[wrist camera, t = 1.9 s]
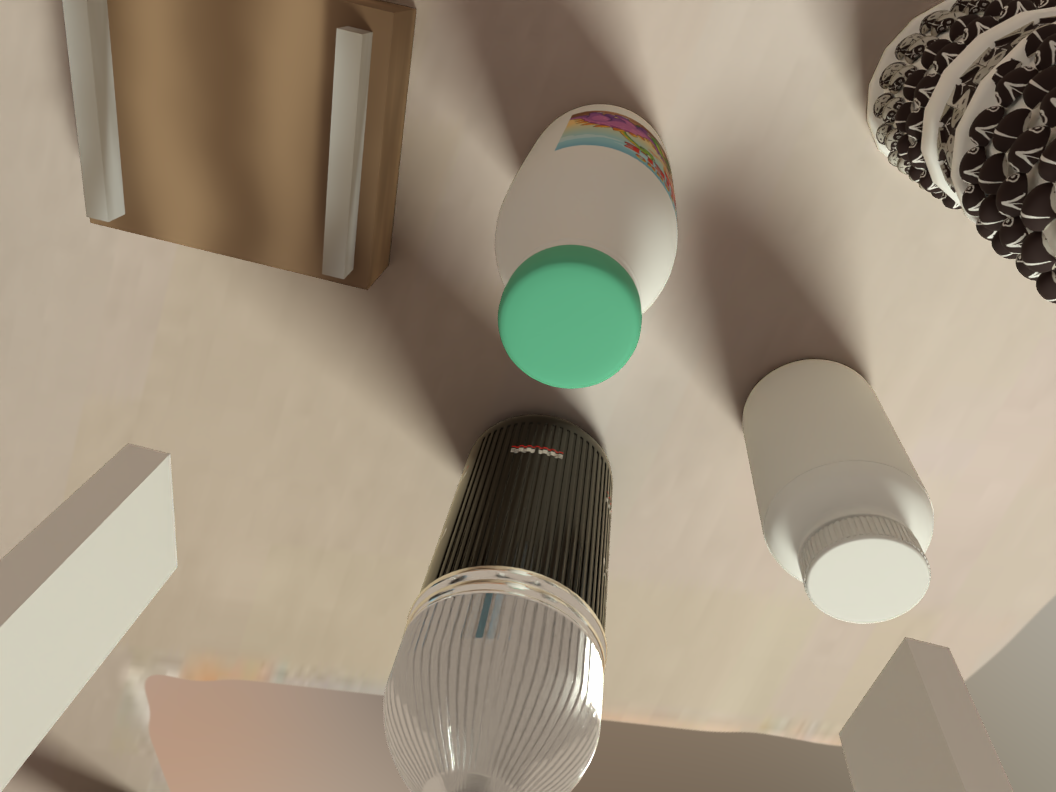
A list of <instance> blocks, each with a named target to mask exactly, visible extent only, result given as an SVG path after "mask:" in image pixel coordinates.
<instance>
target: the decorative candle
mask: <svg viewBox="0 0 1056 792" xmlns="http://www.w3.org/2000/svg"><path fill="white" fill-rule="evenodd" d="M867 123H868V125H869V128H870V130H871V133H872V135H873V138H874V141H875V143H876V146H877V148H878V150H879V151H880V152H881V153H882V154H884V155H885V156H886V157H887V158H888V161H889V162H890V164H892V165H893V166H897V168H898V170H899V171H900V172H901V173H904V174H909V179H910V180H912V181H915V182H917V183H918V184H919V187H920V188H922V189H925V190H926V191H928V192H931V194H932V195H933V196H934V197H935V198H938V199H942V201H943V204H944V205H945V206H946V207H948V208H951V209H961V208H962V210H963V212H964V215H966V216H967V217H968V218H969V219H970V220H971V221H972V222H973V223H975V224H976V227H977V231H978V232H979V234H980V235H981V236H982V237H984V238H985V239H987V240H990V241H992V247H993V249H994V250H995V252H996V253H997V254H999V255H1000V256H1002V257H1004V258H1008V259H1016V267H1017V269H1018V271H1019V272H1020V273H1021V274H1022V275H1023V276H1024V277H1026V278H1028V279H1030V280H1035V281H1036V287H1037V290H1038V292H1039V294H1040V295H1041V296H1042V297H1043V298H1044V299H1046V300H1047V301H1050V302H1052V303H1056V0H945V1H943V2H942V3H940V4H938V5H936V6H935V7H933V8H931V9H929V10H927V11H926V12H924V13H922V14H920V15H919V16H917V17H915V18H913V19H912V20H911V21H910V22H909V23H908V25H907V26H906V27H905V28H904V29H903V30H902V31H901V32H900V33H899V34H898V36H897V37H896V38H895V39H894V40H893V41H892V42H891V43H890V44H889V45H888V46H887V48H886V49H885V50H884V52H883V54H882V56H881V59H880V61H879V63H878V65H877V68H876V70H875V72H874V74H873V77H872V79H871V81H870V83H869V87H868V104H867Z"/></svg>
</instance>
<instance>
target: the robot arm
mask: <svg viewBox="0 0 1056 792" xmlns="http://www.w3.org/2000/svg"><path fill="white" fill-rule="evenodd" d="M177 567H178V566H177V550H176V535H175V519H174V503H173V488H172V472H171V456H170V454H169V453H165V452H161V451H157V450H153V449H149V448H145V447H141V446H137V445H133V444H129V443H128V444H127V445H126V446H125V447H124V448H122V449H121V450H120V451H119V452H118V453H117V454H116V455H115V456H114V457H113V458H111V459H110V460H109V461H108V462H107V463H106V464H105V465H104V466H103V467H102V468H101V469H99V470H98V471H97V472H96V473H95V474H94V475H93V476H92V477H91V478H90V479H89V480H87V481H86V482H85V483H84V484H83V485H82V486H81V487H80V488H79V489H78V490H76V491H75V492H74V493H73V494H72V495H71V496H70V497H69V498H68V499H67V500H66V501H64V502H63V503H62V504H61V505H60V506H59V507H58V508H57V509H56V510H55V511H54V512H52V513H51V514H50V515H49V516H48V517H47V518H46V519H45V520H44V521H43V522H41V523H40V524H39V525H38V526H37V527H36V528H35V529H34V530H33V531H32V532H31V533H29V534H28V535H27V536H26V537H25V538H24V539H23V540H22V541H21V542H20V543H19V544H17V545H16V546H15V547H14V548H13V549H12V550H11V551H10V552H9V553H8V554H6V555H5V556H4V557H3V558H2V559H1V560H0V792H2V790H3V789H4V788H5V786H6V785H7V784H8V783H9V781H10V780H11V779H12V778H13V776H14V775H15V774H16V772H17V771H18V770H19V769H20V767H21V766H22V765H23V763H24V762H25V761H26V760H27V758H28V757H29V756H30V755H31V753H32V752H33V751H34V749H35V748H36V747H37V746H38V744H39V743H40V742H41V741H42V739H43V738H44V737H45V735H46V734H47V733H48V732H49V730H50V729H51V728H52V726H53V725H54V724H55V723H56V721H57V720H58V719H59V718H60V716H61V715H62V714H63V712H64V711H65V710H66V709H67V707H68V706H69V705H70V703H71V702H72V701H73V700H74V698H75V697H76V696H77V695H78V693H79V692H80V691H81V689H82V688H83V687H84V686H85V684H86V683H87V682H88V681H89V679H90V678H91V677H92V675H93V674H94V673H95V672H96V670H97V669H98V668H99V666H100V665H101V664H102V663H103V661H104V660H105V659H106V658H107V656H108V655H109V654H110V652H111V651H112V650H113V649H114V647H115V646H116V645H117V644H118V642H119V641H120V640H121V638H122V637H123V636H124V635H125V633H126V632H127V631H128V629H129V628H130V627H131V626H132V624H133V623H134V622H135V621H136V619H137V618H138V617H139V615H140V614H141V613H142V612H143V610H144V609H145V608H146V607H147V605H148V604H149V603H150V601H151V600H152V599H153V598H154V596H155V595H156V594H157V592H158V591H159V590H160V589H161V587H162V586H163V585H164V584H165V582H166V581H167V580H168V578H169V577H170V576H171V575H172V573H173V572H174V571H175V569H176V568H177ZM839 735H840V739H841V743H842V747H843V751H844V755H845V759H846V763H847V767H848V771H849V775H850V778H851V782H852V786H853V790H854V792H1014V791H1013V789H1012V787H1011V785H1010V782H1009V780H1008V778H1007V776H1006V774H1005V771H1004V769H1003V767H1002V765H1001V762H1000V760H999V758H998V756H997V754H996V751H995V749H994V747H993V745H992V742H991V741H990V738H989V736H988V734H987V731H986V729H985V727H984V725H983V722H982V720H981V718H980V716H979V714H978V712H977V709H976V707H975V705H974V703H973V700H972V698H971V696H970V694H969V691H968V689H967V687H966V685H965V683H964V680H963V678H962V676H961V674H960V671H959V669H958V667H957V665H956V663H955V660H954V658H953V656H952V654H951V651H950V649H949V648H947V647H943V646H939V645H935V644H931V643H927V642H923V641H919V640H915V639H911V638H907V637H905V638H904V640H903V641H902V643H901V644H900V645H899V647H898V648H897V650H896V651H895V653H894V654H893V656H892V657H891V659H890V660H889V661H888V663H887V664H886V666H885V667H884V669H883V670H882V672H881V673H880V675H879V676H878V677H877V679H876V680H875V682H874V683H873V685H872V686H871V688H870V689H869V691H868V692H867V693H866V695H865V696H864V698H863V699H862V701H861V702H860V704H859V705H858V706H857V708H856V709H855V711H854V712H853V714H852V715H851V717H850V718H849V720H848V721H847V722H846V724H845V725H844V727H843V728H842V730H841V731H840V733H839Z"/></svg>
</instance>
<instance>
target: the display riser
mask: <svg viewBox="0 0 1056 792" xmlns="http://www.w3.org/2000/svg"><path fill="white" fill-rule="evenodd" d="M62 3H63V12H64V21H65V30H66V39H67V47H68V56H69V65H70V74H71V83H72V92H73V100H74V109H75V118H76V127H77V136H78V145H79V153H80V162H81V171H82V180H83V189H84V197H85V206H86V215H87V217H89V218H90V223H94V224H98V225H102V226H107V227H111V228H115V229H119V230H123V231H127V232H131V233H135V234H139V235H144V236H148V237H152V238H156V239H160V240H164V241H168V242H172V243H176V244H181V245H185V246H189V247H193V248H197V249H201V250H205V251H209V252H214V253H218V254H222V255H226V256H230V257H234V258H238V259H242V260H246V261H251V262H255V263H259V264H263V265H267V266H271V267H275V268H279V269H284V270H288V271H292V272H296V273H300V274H304V275H308V276H312V277H316V278H321V279H325V280H329V281H333V282H337V283H341V284H345V285H349V286H353V287H358V288H362V289H366V290H368V289H369V288H370V286H371V285H372V284H373V283H374V282H375V281H376V279H377V278H378V277H379V276H380V275H381V274H382V272H383V271H384V270H385V269H386V268H387V267H388V265H389V257H390V248H391V239H392V230H393V220H394V211H395V202H396V193H397V184H398V174H399V165H400V156H401V147H402V138H403V129H404V119H405V110H406V101H407V92H408V83H409V74H410V64H411V55H412V46H413V37H414V28H415V18H416V9H414V8H410V7H406V6H402V5H398V4H393V3H389V2H385V1H381V0H62Z"/></svg>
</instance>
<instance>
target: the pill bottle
mask: <svg viewBox="0 0 1056 792" xmlns="http://www.w3.org/2000/svg"><path fill="white" fill-rule="evenodd" d="M743 433H744V438H745V443H746V448H747V453H748V458H749V464H750V469H751V474H752V479H753V484H754V489H755V494H756V499H757V504H758V509H759V514H760V520H761V525H762V530H763V534H764V538H765V541H766V544H767V547H768V549H769V551H770V552H771V554H772V555H773V557H774V558H775V560H776V561H777V562H778V563H779V565H780V566H781V567H782V568H783V569H784V570H785V571H787V572H788V573H789V574H790V575H792V576H793V577H795V578H796V579H798V580H799V581H801V582H803V583H804V587H805V590H806V593H807V595H808V597H809V598H810V600H811V602H813V604H814V605H816V607H817V608H818V609H820V610H821V611H822V612H824V613H825V614H827V615H829V616H831V617H833V618H835V619H838V620H841V621H845V622H850V623H859V624H868V623H878V622H883V621H887V620H890V619H893V618H896V617H898V616H900V615H902V614H904V613H906V612H907V611H909V610H910V609H912V608H913V607H914V606H915V605H916V604H917V603H918V602H919V601H920V600H921V599H922V598H923V596H924V595H925V593H926V591H927V589H928V586H929V581H930V576H931V573H930V572H931V571H930V566H929V563H928V560H927V558H926V556H925V552H926V550H927V548H928V546H929V544H930V541H931V538H932V534H933V528H934V513H933V507H932V503H931V501H930V498H929V496H928V493H927V491H926V489H925V487H924V486H923V484H922V482H921V480H920V478H919V476H918V474H917V472H916V470H915V468H914V466H913V465H912V463H911V461H910V459H909V457H908V455H907V453H906V451H905V449H904V447H903V445H902V444H901V442H900V440H899V438H898V436H897V434H896V432H895V430H894V428H893V426H892V425H891V423H890V421H889V419H888V417H887V415H886V413H885V411H884V409H883V407H882V405H881V404H880V402H879V400H878V398H877V396H876V394H875V392H874V391H873V389H872V388H871V386H870V385H869V384H868V383H867V381H866V380H865V379H864V378H863V377H862V376H861V375H860V374H858V373H857V372H856V371H854V370H853V369H851V368H849V367H847V366H845V365H843V364H840V363H837V362H834V361H829V360H822V359H808V360H800V361H796V362H792V363H789V364H786V365H783V366H781V367H779V368H777V369H775V370H774V371H772V372H770V373H769V374H768V375H766V376H765V377H764V378H763V379H762V380H760V381H759V382H758V384H757V385H756V386H755V387H754V388H753V390H752V391H751V393H750V395H749V396H748V398H747V401H746V403H745V407H744V411H743Z"/></svg>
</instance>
